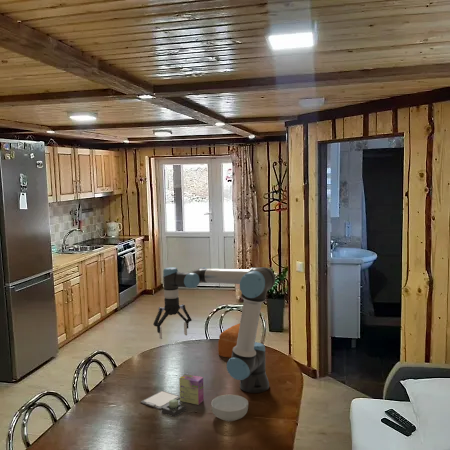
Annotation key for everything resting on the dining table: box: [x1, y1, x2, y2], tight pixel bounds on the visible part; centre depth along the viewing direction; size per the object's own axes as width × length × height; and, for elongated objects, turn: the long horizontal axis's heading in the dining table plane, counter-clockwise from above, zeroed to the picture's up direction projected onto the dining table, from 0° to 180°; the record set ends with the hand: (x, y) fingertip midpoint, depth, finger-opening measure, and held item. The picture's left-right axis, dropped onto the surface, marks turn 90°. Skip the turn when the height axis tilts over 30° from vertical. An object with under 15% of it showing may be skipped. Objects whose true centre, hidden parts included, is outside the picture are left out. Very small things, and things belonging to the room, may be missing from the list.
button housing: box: [161, 402, 187, 418], centre depth 225 cm, size 8×8×2 cm
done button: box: [169, 399, 179, 409], centre depth 224 cm, size 4×4×2 cm
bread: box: [217, 322, 240, 359], centre depth 302 cm, size 14×26×16 cm, turn 148°
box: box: [179, 373, 205, 406], centre depth 235 cm, size 10×6×12 cm, turn 65°
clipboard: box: [140, 390, 180, 411], centre depth 236 cm, size 13×15×1 cm
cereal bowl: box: [210, 394, 249, 422], centre depth 218 cm, size 17×17×7 cm
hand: (173, 336), depth 254 cm, fingers open, 13 cm apart
